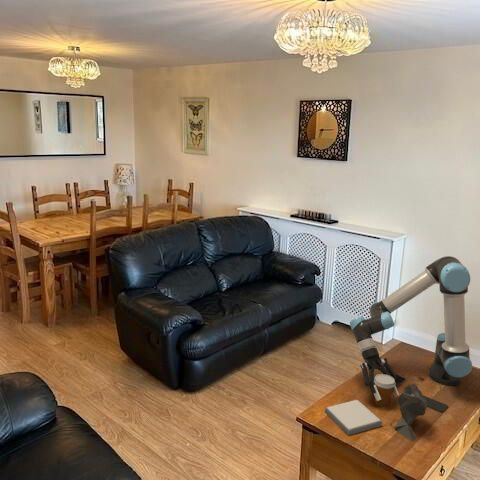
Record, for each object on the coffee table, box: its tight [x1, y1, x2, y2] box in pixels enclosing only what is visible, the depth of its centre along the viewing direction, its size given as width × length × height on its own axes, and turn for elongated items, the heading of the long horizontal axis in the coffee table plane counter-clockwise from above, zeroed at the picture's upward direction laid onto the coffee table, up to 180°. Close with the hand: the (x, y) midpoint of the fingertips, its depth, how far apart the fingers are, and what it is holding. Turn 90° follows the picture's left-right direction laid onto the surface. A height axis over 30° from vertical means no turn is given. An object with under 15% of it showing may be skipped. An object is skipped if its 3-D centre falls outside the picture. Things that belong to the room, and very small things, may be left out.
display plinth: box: [324, 399, 383, 436], centre depth 202 cm, size 17×17×2 cm
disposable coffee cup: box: [374, 373, 396, 407], centre depth 213 cm, size 10×10×12 cm
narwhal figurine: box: [394, 383, 428, 442], centre depth 196 cm, size 14×15×18 cm
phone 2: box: [395, 373, 407, 389], centre depth 231 cm, size 8×1×15 cm
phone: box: [422, 394, 449, 414], centre depth 215 cm, size 7×1×15 cm
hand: (387, 397), depth 210 cm, fingers closed on disposable coffee cup, 9 cm apart
